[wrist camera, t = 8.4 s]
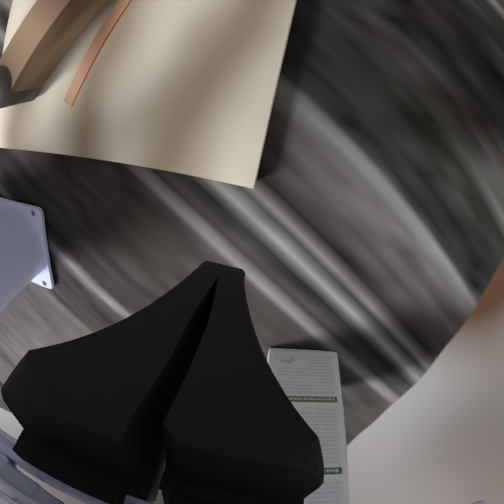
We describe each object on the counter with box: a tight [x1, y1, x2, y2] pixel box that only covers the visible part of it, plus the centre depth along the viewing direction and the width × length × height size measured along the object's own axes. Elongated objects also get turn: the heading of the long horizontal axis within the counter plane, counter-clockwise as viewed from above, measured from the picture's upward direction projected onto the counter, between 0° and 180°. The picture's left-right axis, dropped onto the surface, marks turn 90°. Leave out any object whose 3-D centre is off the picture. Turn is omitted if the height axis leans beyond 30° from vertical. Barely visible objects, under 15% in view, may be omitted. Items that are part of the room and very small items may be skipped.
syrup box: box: [267, 348, 349, 504], centre depth 19 cm, size 6×6×14 cm
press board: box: [0, 0, 297, 189], centre depth 13 cm, size 20×20×2 cm
